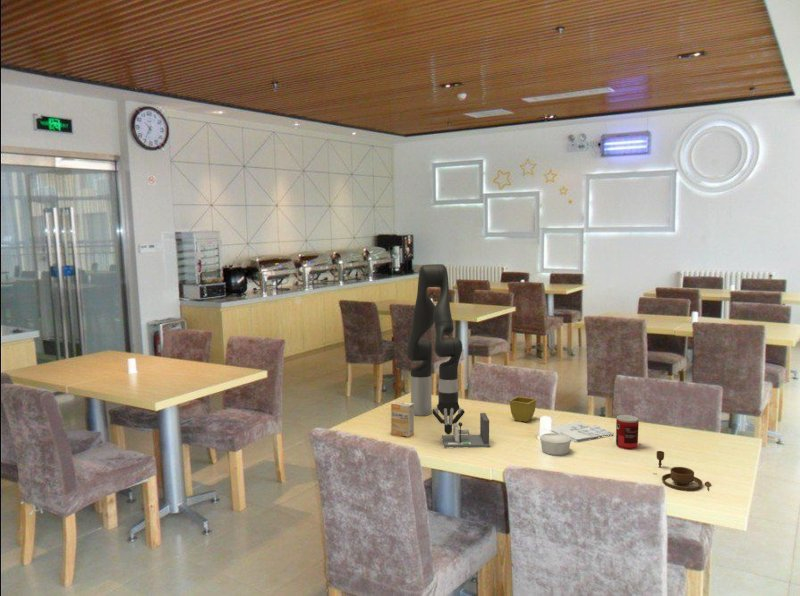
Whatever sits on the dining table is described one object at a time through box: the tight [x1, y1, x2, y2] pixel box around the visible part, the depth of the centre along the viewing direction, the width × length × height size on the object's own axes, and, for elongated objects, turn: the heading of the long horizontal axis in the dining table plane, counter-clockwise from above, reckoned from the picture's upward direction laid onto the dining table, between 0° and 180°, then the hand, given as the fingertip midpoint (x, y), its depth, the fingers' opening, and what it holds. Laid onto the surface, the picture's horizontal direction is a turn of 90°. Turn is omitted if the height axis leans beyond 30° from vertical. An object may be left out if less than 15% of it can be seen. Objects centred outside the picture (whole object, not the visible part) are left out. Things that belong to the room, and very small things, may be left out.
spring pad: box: [452, 422, 470, 443], centre depth 249 cm, size 10×6×5 cm, turn 1°
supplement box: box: [390, 400, 415, 438], centre depth 259 cm, size 8×5×13 cm, turn 62°
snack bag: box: [551, 421, 614, 443], centre depth 261 cm, size 19×20×2 cm
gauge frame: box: [441, 412, 491, 448], centre depth 249 cm, size 12×17×10 cm
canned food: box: [615, 414, 640, 450], centre depth 243 cm, size 8×8×11 cm
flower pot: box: [509, 396, 537, 423], centre depth 277 cm, size 9×9×9 cm
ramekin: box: [539, 432, 572, 456], centre depth 239 cm, size 11×11×5 cm
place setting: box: [654, 450, 712, 492], centre depth 211 cm, size 18×20×6 cm
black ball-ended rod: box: [457, 421, 463, 443], centre depth 244 cm, size 2×2×8 cm
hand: (448, 433), depth 249 cm, fingers closed
